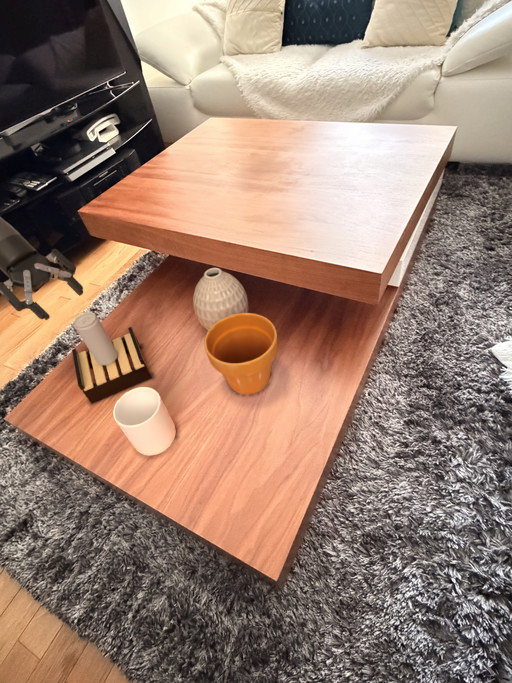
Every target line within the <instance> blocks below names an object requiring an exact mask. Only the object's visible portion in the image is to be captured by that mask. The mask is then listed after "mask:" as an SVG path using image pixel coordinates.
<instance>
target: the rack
mask: <svg viewBox="0 0 512 683" xmlns="http://www.w3.org/2000/svg"><path fill="white" fill-rule="evenodd" d="M132 327H133V326H129V327H127V329H128V332H129V333H126V334H123V337H122V336H119V337H116V338H113V339H112V340H111V342H112V343H113V345H114V347H115V349H116V350H117V353H118V355H117V360H118V361H117V362H118V364H119V367H120V371H121V372H119V370H118V366H117V363H116V360H115V361H114V362H113V363H112V364H109V365H105V367H106V370H107V374H108V377H107V376H106V373H105V368H104V365H100V364H98V363H97V361H96V360H95V358H94V357H93V355H92V354H91V352H90V351H89V350H88V351H86V350H83V351H80V352H78V350H77V349H76V348H73V349H71V353H72V358H73V364H74V369H75V375H76V381H77V387H78V388H79V389H80V390H81V391H82V393H83V395H85V397H86V398H87V400H88V401H89V402H90V404H91V405H93V404H95V403H97V402H101V401H102V400H104V399H107V398H109V397H111V396H114V395H116V394H118V393H120V392H123V391H125V390H127V389H128V390H129V389H130V388H132V387H135V386H137V385H139V384H141V383H144V382H146V381H149V380H151V379H153V375H152V373H151V371H150V369H149V367H148V364H146V362H145V359H144V356H143V353H142V351H141V349H142V345H141V344H140V342H139V340H138V338H137V335H136V333H135V331H134V330H133V328H132ZM128 355H130V359H131V362H132V364H133V367H131V364H130V361H129V357H128ZM91 370H93V375H94V380H95V383H94V380H93V376H92V372H91Z"/></svg>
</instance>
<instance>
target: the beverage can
mask: <svg viewBox="0 0 512 683" xmlns="http://www.w3.org/2000/svg"><path fill="white" fill-rule="evenodd" d="M73 325H74V329H75V330H76V332H77V333H78V335H79V337H80V338H81V339H82V341H83V343H84V344H85V347H86V348H87V349H88V351H90V352H91V354H92V355H93V357H94V358H95V360H96V361H97V363H98V364H100V365H103V366H106V365H109V364H112V363H113V362H114V361H115V362H116V360H118V358H117V355H118V353H117V350H116V349H115V347H114V345H113V343H112V342H113V341H112V340H111V338H110V336H109V335H108V333H107V331H106V330H105V327H104V326H103V324H102V322H101V321H100V318H99V317H98V315H96V313H94V312H92V311H87V312H83V313H81V314H79V315H77V316H76V318H74V320H73Z"/></svg>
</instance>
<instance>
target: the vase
mask: <svg viewBox="0 0 512 683" xmlns="http://www.w3.org/2000/svg"><path fill="white" fill-rule="evenodd" d="M192 307H193V312H194V314H195V317H196V319H197V321H198V322H199V324H200V325H201V326H202V327H203V328H204V329H205V330H207V332H208V331H209V329H210V328H211V327H212V326H213V325H214V324H215V323H217V322H218V321H220V320H221V319H223V318H225V317H228V316H230V315H234V314H239V313H249V299H248V295H247V292H246V290H245V288H244V286H243V284H242V283H241V282H240V280H238V279H237V278H236V277H235V276H233V275H232V274H231V273H228V272H226V271H223V270H222V269H221V268H218V267H211V268H208V269H207V270H205V271H204V273H203V276H202V277H201V278H200V279H199V281H198V282H197V284H196V285H195V287H194V291H193V296H192Z"/></svg>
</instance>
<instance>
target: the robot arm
mask: <svg viewBox="0 0 512 683" xmlns="http://www.w3.org/2000/svg"><path fill="white" fill-rule="evenodd" d="M50 262H51V263H53V264H58V265H59V266H60V267H61V268H62V269H64V270H61V269H60V268H57V267H53V266H51V265H50ZM0 271H1V272H3V273H4V274H5V275H6V276H7V278H8V279H7V280H5V281H4V282H2V281H0V294H1V295H2V297H3V298H5V300H6V301H7V302H8V303H9V304H10V305H11V306H12V307H13V309H14V310H15V311H17V312H21V311H23V310H26V309H27V310H30V311H31V312H32V313H33V314H34V315H35V316H36V317H37V318H38V319H39V320H45V321H48V320H49V319H50V318H51V316H50V314H49V313H48V312H47V311H46V310H45V309H44V308H43V307H42V306H41V305H40V304H39V303H38V302H37V301H34V300H33V290H36V291H37V290H38V289H40V288H41V287H42V286H43V285H45V284H48V283H49V282H50V280H53V281H62V282H65V283H66V284H67V285H68V287H69V288H71V289H72V291H73V292H74V293H75V294H76V295H77V296H80V297H81V296H82V295H83V294H84V287H83V285H82V284H81V283H80V282H79V281H78V280H77V279H76V278H75V277H74V275H76V272H77V266H76V265H75V264H73V262H71V261H70V260H69V259H68V258H67V257H66V256H65V255H64V254H62V253H61V251H59V250H58V249H57V248H53V249H51V252H50V253H49V254H47V255H46V256H44V255H42V254H40V253H39V251H37V250H36V248H34V246H33V245H31V244H30V243H29V241H27V239H26V238H25V237H24V236H23V235H22V234H21V233H20V232H19V230H17V229H16V228H15V227H14V226H12V225H11V224H10V223H9V222H8V221H6V220H5V219H4V218H3V217H1V216H0ZM13 286H14V287H18V288H23V290H24V300H20V299H19V298H18V297H17V296H16V295H15V294H14V293H13Z"/></svg>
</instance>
